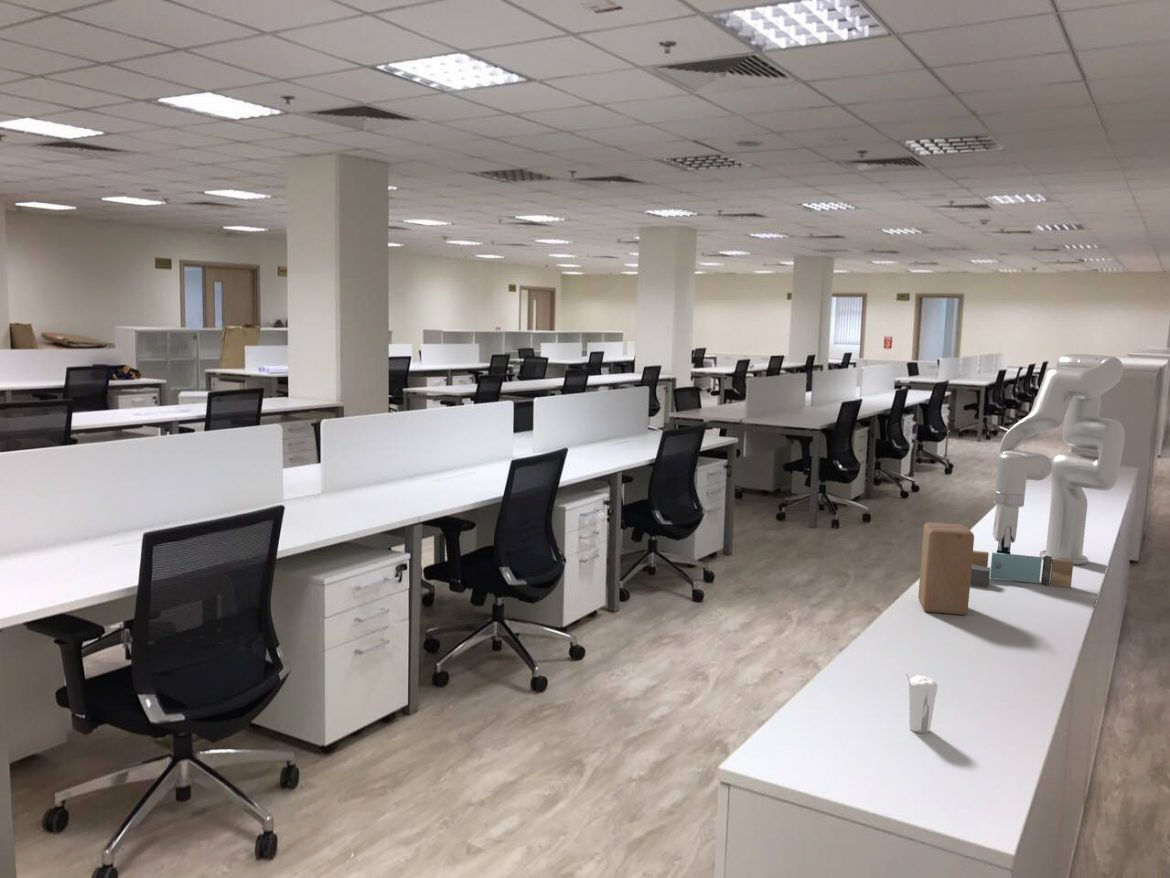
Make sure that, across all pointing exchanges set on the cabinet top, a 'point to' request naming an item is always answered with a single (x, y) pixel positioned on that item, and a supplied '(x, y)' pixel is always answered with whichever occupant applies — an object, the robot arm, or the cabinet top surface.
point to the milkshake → (921, 702)
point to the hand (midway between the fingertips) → (1002, 565)
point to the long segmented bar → (1058, 570)
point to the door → (1015, 567)
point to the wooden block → (946, 568)
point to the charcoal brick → (980, 576)
